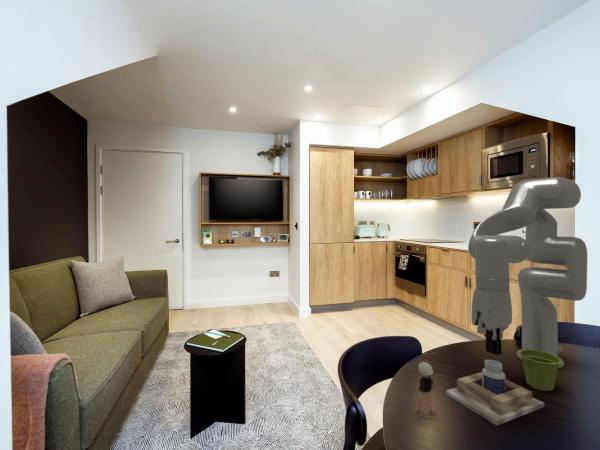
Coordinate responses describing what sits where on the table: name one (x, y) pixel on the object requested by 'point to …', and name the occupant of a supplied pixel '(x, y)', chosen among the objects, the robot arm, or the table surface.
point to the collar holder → (494, 399)
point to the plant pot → (540, 368)
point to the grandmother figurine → (425, 391)
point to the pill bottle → (493, 377)
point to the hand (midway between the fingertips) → (493, 352)
